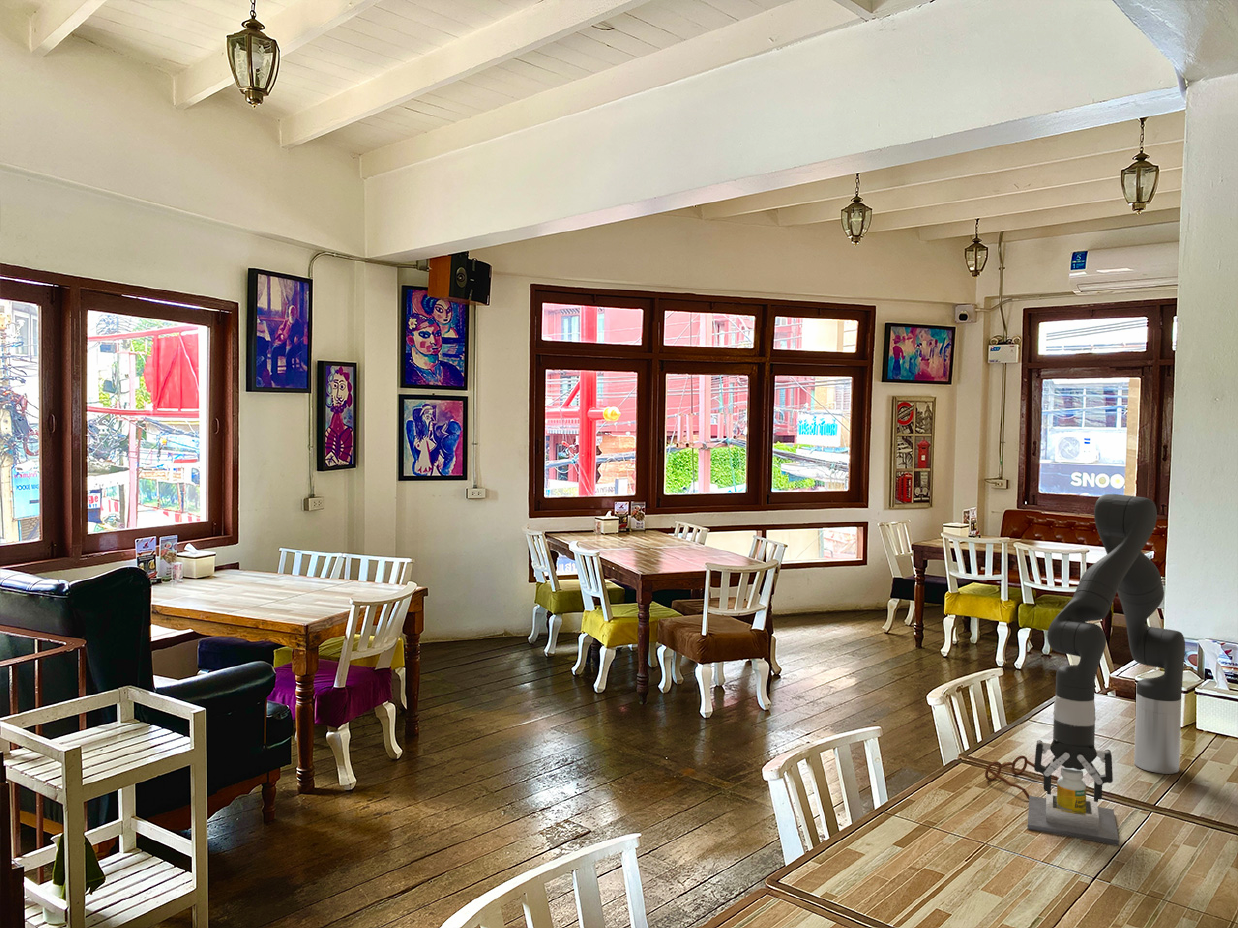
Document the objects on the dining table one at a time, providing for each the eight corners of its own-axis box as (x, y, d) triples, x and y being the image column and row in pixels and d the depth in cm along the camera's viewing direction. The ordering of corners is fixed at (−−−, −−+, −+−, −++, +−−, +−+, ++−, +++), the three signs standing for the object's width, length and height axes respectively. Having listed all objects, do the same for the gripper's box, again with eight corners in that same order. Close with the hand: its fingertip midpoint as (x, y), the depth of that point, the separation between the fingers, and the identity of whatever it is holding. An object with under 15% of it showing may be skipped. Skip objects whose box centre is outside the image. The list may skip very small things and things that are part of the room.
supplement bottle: (1065, 808, 188) (1066, 763, 188) (1091, 818, 184) (1092, 771, 183) (1050, 814, 185) (1052, 768, 185) (1076, 824, 181) (1077, 776, 180)
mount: (1029, 799, 195) (1029, 783, 195) (1113, 813, 188) (1113, 797, 188) (1027, 829, 180) (1028, 811, 180) (1118, 845, 174) (1119, 827, 173)
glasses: (1024, 773, 211) (1024, 752, 211) (1073, 794, 199) (1074, 771, 199) (983, 782, 205) (983, 761, 205) (1031, 804, 194) (1032, 781, 193)
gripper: (1112, 718, 184) (1110, 796, 184) (1035, 708, 190) (1033, 784, 190) (1115, 728, 177) (1112, 810, 178) (1035, 718, 183) (1033, 797, 184)
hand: (1072, 796), depth 184 cm, fingers open, 8 cm apart
